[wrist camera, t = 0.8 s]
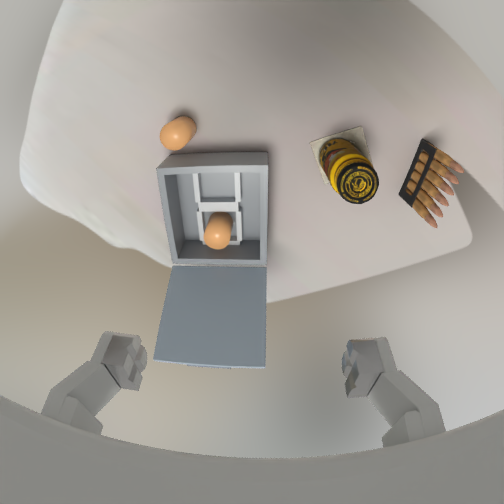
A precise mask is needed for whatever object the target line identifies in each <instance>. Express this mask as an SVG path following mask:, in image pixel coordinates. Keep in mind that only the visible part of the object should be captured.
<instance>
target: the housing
mask: <svg viewBox="0 0 504 504" xmlns="http://www.w3.org/2000/svg"><path fill="white" fill-rule="evenodd" d="M156 170H157V177H158V183H159V190H160V196H161V202H162V208H163V214H164V220H165V226H166V231H167V236H168V242H169V247H170V252H171V257H172V262H173V263H175V264H225V265H267V215H268V152H219V153H193V154H176V155H169V156H168V157H167V158H166V159H165V160H164V161H163V162H162V163H161V164H160V165H159V166H158V167H157V168H156ZM214 212H226V213H228V214H229V215H230V216H231V217H232V219H233V226H232V231H231V237H230V242H229V244H228V245H227V246H226V247H225V248H223V249H213V248H210V247H209V246H208V245H207V244H206V243H205V241H204V233H205V230H206V227H207V224H208V221H209V218H210V216H211V215H212V214H213V213H214Z"/></svg>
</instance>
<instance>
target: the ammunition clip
mask: <svg viewBox="0 0 504 504" xmlns="http://www.w3.org/2000/svg"><path fill="white" fill-rule="evenodd" d="M434 158H435V159H436V160H435V159H434ZM441 163H442V164H444V165H445V166H448V167H450V168H452V169H453V170H455V171H457V172H460V173H464V170H463V168H462V167H461V166H460V165H459V164H458V163H457V162H455V161H454V160H453V159H452V158H451V157H450V156H449V155H447V154H446V153H444V152H443V151H441V150H439V149H438V148H437V147H435V146H434V145H432V144H431V143H429V142H427V141H425V140H423V139H422V140H421V142H420V144H419V147H418V149H417V152H416V154H415V157H414V159H413V162H412V164H411V167H410V169H409V171H408V174H407V176H406V179H405V181H404V183H403V185H402V188H401V190H400V192H399V196H400V197H401V198H402V199H404V200H405V201H406V202H407V203H408V204H409V205H410V206H411V207H413V208H414V209H415V211H416V212H417V213H418V214H419V215H420V216H421V217H422V218H424V219H425V220H426V221H427V222H428V223H429V224H430V225H431V226H432V227H434V228H437V223H436V221H435V219H434V218H433V216H432V215H431V214H430V213H429V211H428V209H427V208H426V207H428V208H429V209H430V210H431V211H432V212H433V213H435V214H436V215H437V216H439V217H443V214H442V211H441V210H440V208H439V207H438V206H437V205H436V203H435V202H434V201H433V199H432V198H431V197H433V198H435V199H436V200H437V201H438V202H440V203H441V204H442V205H444V206H449V204H448V202H447V200H446V198H445V197H444V196H443V195H442V194H441V193H440V192H439V190H438V189H437V188H436V187H439V188H440V189H441V190H443V191H444V192H446V193H447V194H449V195H454V192H453V190H452V189H451V187H450V186H449V185H448V184H447V183H446V182H445V181H444V180H443V179H442V178H441V177H440V176H442V177H444V178H446V179H447V180H449V181H450V182H452V183H454V184H459V181H458V180H457V178H456V177H455V176H454V175H453V174H452V173H451V172H450V171H449V170H448V169H447V168H446V167H445V166H444V165H442V164H441ZM430 168H431V169H432V170H431V169H430ZM436 173H437V174H436ZM438 174H439V175H440V176H439V175H438ZM426 178H427V179H428V180H427V179H426ZM432 183H433V184H434V185H435V186H436V187H435V186H434V185H433V184H432ZM422 188H423V189H424V190H423V189H422ZM427 193H428V194H429V195H430V196H431V197H430V196H429V195H428V194H427ZM424 205H425V206H426V207H425V206H424Z"/></svg>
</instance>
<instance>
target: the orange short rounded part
mask: <svg viewBox="0 0 504 504" xmlns="http://www.w3.org/2000/svg"><path fill="white" fill-rule="evenodd" d="M232 226H233V219H232V217H231V216H230V215H229V214H228V213H226V212H214V213H213V214H212V215H211V216H210V218H209V221H208V224H207V227H206V230H205V233H204V241H205V243H206V244H207V245H208V246H209V247H210V248H213V249H223V248H225V247H226V246H227V245H228V244H229V242H230V237H231V231H232Z"/></svg>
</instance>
